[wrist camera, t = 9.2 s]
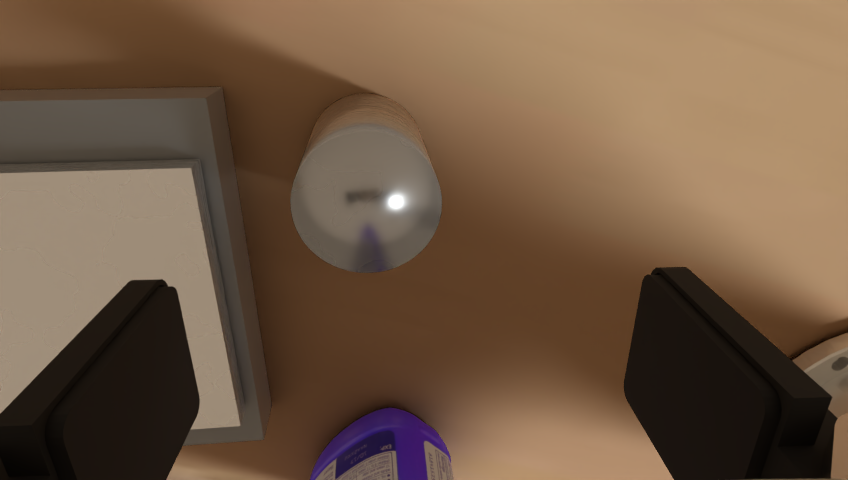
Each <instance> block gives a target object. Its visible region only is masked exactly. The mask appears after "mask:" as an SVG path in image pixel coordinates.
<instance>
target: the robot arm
mask: <svg viewBox="0 0 848 480" xmlns="http://www.w3.org/2000/svg"><path fill="white" fill-rule="evenodd" d="M624 392H625V396H626V399H627V401H628V403H629V404H630V406H631V408H632V410H633V411H634V413H635V415H636V416H637V418H638V420H639V421H640V423H641V425H642V426H643V428H644V430H645V431H646V433H647V435H648V437H649V438H650V440H651V442H652V443H653V445H654V447H655V448H656V450H657V452H658V453H659V455H660V457H661V458H662V460H663V462H664V464H665V465H666V467H667V469H668V470H669V472H670V474H671V475H672V477H673V479H674V480H848V333H845V334H842V335H840V336H837V337H834V338H831V339H829V340H826V341H825V342H823V343H821V344H819V345H817V346H815V347H813V348H811V349H809V350H807V351H805V352H804V353H802V354H801V355H800V356H798V357H797V358H795V359H794V360H790V359H789V358H788V357H787V356H786V355H785V354H784V353H782V352H781V351H780V350H779V349H778V348H777V347H776V346H775V345H773V344H772V343H771V342H770V341H769V340H768V339H767V338H766V337H764V336H763V335H762V334H761V333H760V332H759V331H758V330H757V329H755V328H754V327H753V326H752V325H751V324H750V323H749V322H748V321H746V320H745V319H744V318H743V317H742V316H741V315H740V314H739V313H737V312H736V311H735V310H734V309H733V308H732V307H731V306H730V305H728V304H727V303H726V302H725V301H724V300H723V299H722V298H721V297H719V296H718V295H717V294H716V293H715V292H714V291H713V290H712V289H710V288H709V287H708V286H707V285H706V284H705V283H704V282H702V281H701V280H700V279H699V278H698V277H697V276H696V275H695V274H693V273H692V272H691V271H690V270H689V269H687V268H686V267H668V268H655V269H654V270H653V271H652V273H651V275H646V276H645V277H644V279H643V282H642V287H641V292H640V298H639V303H638V309H637V314H636V319H635V325H634V330H633V336H632V341H631V347H630V352H629V358H628V363H627V368H626V374H625V379H624ZM199 405H200V398H199V392H198V387H197V382H196V378H195V373H194V368H193V363H192V359H191V354H190V349H189V344H188V340H187V335H186V330H185V325H184V321H183V316H182V311H181V306H180V302H179V297H178V293H177V290H176V288H175V287H173V286H168V285H167V283H166V281H164V280H163V279H157V280H131V281H129V282H128V283H127V284H126V285H125V286H124V287H123V288H122V289H121V290H120V291H119V292H118V293H117V294H116V295H115V296H114V297H113V298H112V299H111V300H110V301H109V302H108V303H107V305H106V306H105V307H104V308H103V309H102V310H101V311H100V312H99V313H98V314H97V315H96V316H95V317H94V318H93V319H92V320H91V321H90V322H89V323H88V324H87V325H86V326H85V327H84V328H83V329H82V330H81V331H80V332H79V333H78V334H77V335H76V336H75V337H74V338H73V339H72V340H71V341H70V343H69V344H68V345H67V346H66V347H65V348H64V349H63V350H62V351H61V352H60V353H59V354H58V355H57V356H56V357H55V358H54V359H53V360H52V361H51V362H50V363H49V364H48V365H47V366H46V367H45V368H44V369H43V370H42V371H41V372H40V373H39V374H38V375H37V376H36V377H35V378H34V379H33V381H32V382H31V383H30V384H29V385H28V386H27V387H26V388H25V389H24V390H23V391H22V392H21V393H20V394H19V395H18V396H17V397H16V398H15V399H14V400H13V401H12V402H11V403H10V404H9V405H8V406H7V407H6V408H5V409H4V410H3V411H2V412H1V413H0V480H166V479H167V477H168V475H169V473H170V470H171V468H172V466H173V464H174V462H175V460H176V458H177V456H178V454H179V452H180V450H181V448H182V446H183V444H184V442H185V440H186V438H187V435H188V433H189V431H190V429H191V427H192V425H193V423H194V421H195V419H196V417H197V414H198V411H199Z"/></svg>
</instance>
